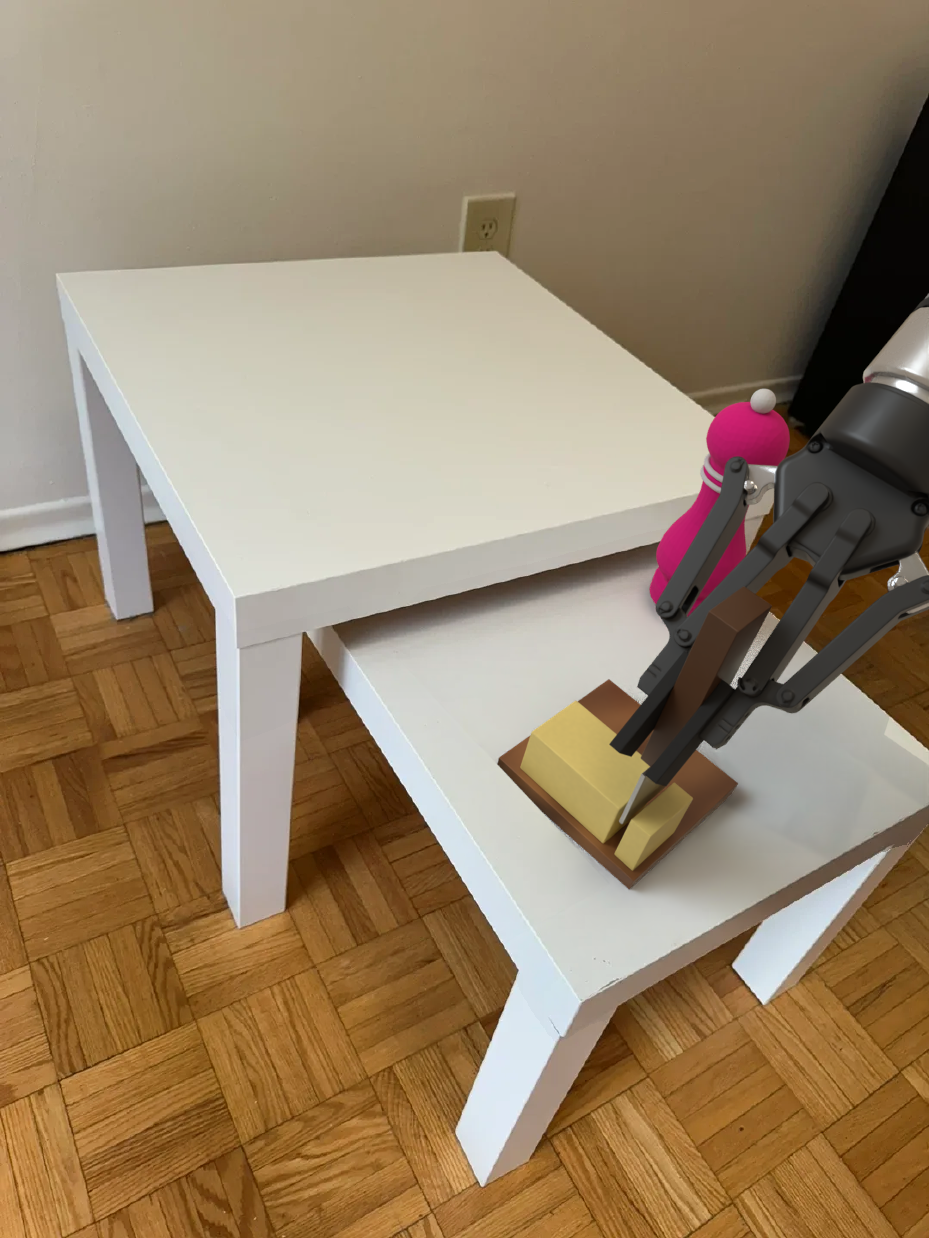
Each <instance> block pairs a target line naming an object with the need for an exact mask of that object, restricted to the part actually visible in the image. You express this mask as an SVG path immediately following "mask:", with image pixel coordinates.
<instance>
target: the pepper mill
mask: <svg viewBox="0 0 929 1238" xmlns="http://www.w3.org/2000/svg"><path fill="white" fill-rule="evenodd" d="M776 403H777V398H776V395H775V393H774V392H773V390H771V389H768V388H760V389H757V390H756V391H754V392H753V394H752V395H751V398H750V401H739V402H736V403H732V404H729V405H728V406H726V407H724V408H723V409H721V410H720V411H719V412H718V413H717V414H716V416H715V417H714V418H713V420H711V422H710V424H709V427H708V429H707V433H706V437H705V441H706V442H705V443H706V448H707V451H708V454H706V455H705V457H704V459H703V465H702V466H701V467H700V472H699V474H700V478H701V480H702V482H701V487H700V490H699V491H698V493H697V496H696V499H695V501H694V502H693V503H692V505H691V506H690V508H688V509H687V511H685V512H684V513H683V514H682V515H681V516H680V517H679V518H677V519H676V520H675V521H674V522H673V523H672V524H671V525H670V526H669V527H668V529H667V530H666V531H665V532H664V534H663V535H662V537H661V539H660V542H659V543H658V546H657V548H656V553H655V555H656V556H655V558H656V563H657V566H658V567H657V568H656V570H655V571H654V573H653V577H652V579H651V582H650V585H649V595H650V598H651V600H652V602H653V603H654V604H655V605H656V603H657V601H658V599H659V598H660V596H661V594H662V592H663V591H664V589H665V587H666V586H667V584H668V582H669V581H670V579H671V577H672V575H673V574H674V572H675V570H676V569H677V567H678V565H679V564H680V562H681V560H682V558H683V557H684V555H685V553H686V552H687V550H688V548H689V546H690V545H691V543H692V541H693V540H694V538H695V536H696V535H697V533H698V531H699V529H700V528H701V526H702V524H703V523H704V521H705V519H706V518H707V516H708V514H709V512H710V511H711V509H712V507H713V506H714V504H715V502H716V500H717V499H718V497H719V495H720V492H721V486H722V481H723V475H724V470H725V465H726V463H727V461H728V460H729V459H730V458H732V457H736V456H739V457H743V458H744V459H745V460H746V462H747V464H753V465H769V466H778V465H779V463H780V462H781V461H782V460H784V459H785V458H786V457H787V455H788V451H789V447H790V441H791V438H790V437H791V436H790V429H789V427H788V424H787V423H786V421H785V419H784V417H782V415H780V414H779V413H778V412H777V411H776V410H775V409H774V408H775V406H776V405H777V404H776ZM749 507H750V505H748V509H747V512H746V515H745V517H744V519H743V521H742V523H741V525H740V527H739V528H738V530H737V532H736V533H735V535H734V537H733V538H732V540H731V542H730V544H729V545H728V547H727V549H726V550H725V552H724V554H723V555H722V557H721V559H720V561H719V562H718V564H717V566H716V567H715V569H714V571H713V572H712V574H711V576H710V578H709V579H708V581H707V583H706V584H705V586H704V588H703V589H702V591H701V593H700V595H699V596H698V598H697V600H696V601H695V603H694V605H693V606H692V608H691V610H690V612H689V613H688V615H687V617H688V616H689V615H690V614H691V613H692V612H693V611H694V610H695V609H696V608H697V606H698V605H699V604H700V603H701V602H702V601H703V600H704V599H705V598H706V597H707V596H708V595H709V594H710V593H711V592H712V591H713V590H714V589H715V588H716V587H717V586H718V585H719V584H720V582H721V581H722V580H723V579H724V578H725V577H726V576H727V575H728V574H729V573H730V572H731V571H732V570H733V569H734V568H735V567H736V566H737V565H738V564H739V563H740V562H741V561H742V560H743V559H744V557H745V556H746V555H747V541H746V527H745V526H746V525H745V524H746V523H745V522H746V516H747V513H748V510H749Z"/></svg>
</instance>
